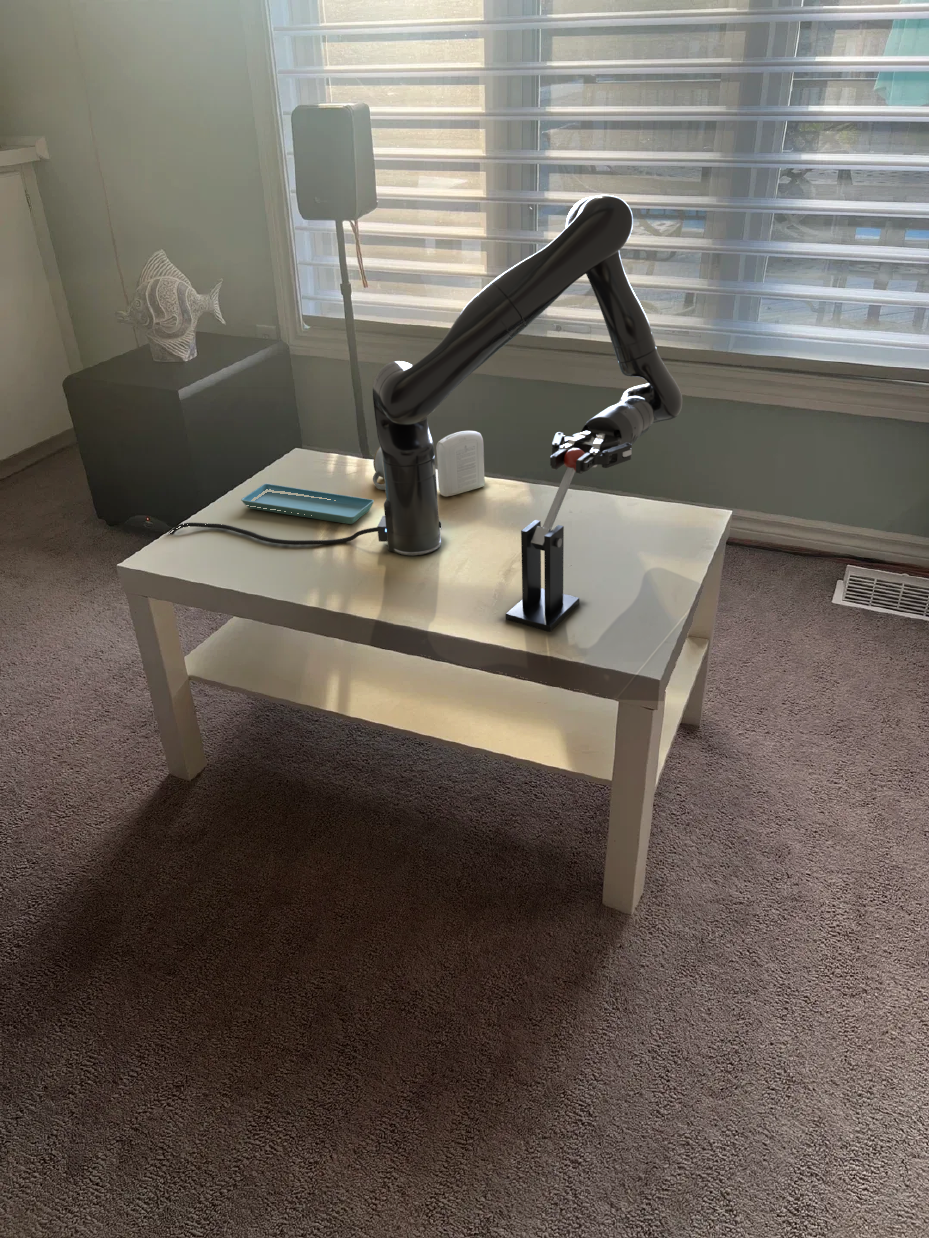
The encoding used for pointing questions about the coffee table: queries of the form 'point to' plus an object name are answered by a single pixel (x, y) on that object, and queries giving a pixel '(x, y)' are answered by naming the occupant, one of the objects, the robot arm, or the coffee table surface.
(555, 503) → the red knobbed lever
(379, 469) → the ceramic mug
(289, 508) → the shallow long dish
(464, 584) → the coffee table surface
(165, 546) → the coffee table surface
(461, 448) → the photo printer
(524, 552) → the black lever stand
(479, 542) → the coffee table surface
